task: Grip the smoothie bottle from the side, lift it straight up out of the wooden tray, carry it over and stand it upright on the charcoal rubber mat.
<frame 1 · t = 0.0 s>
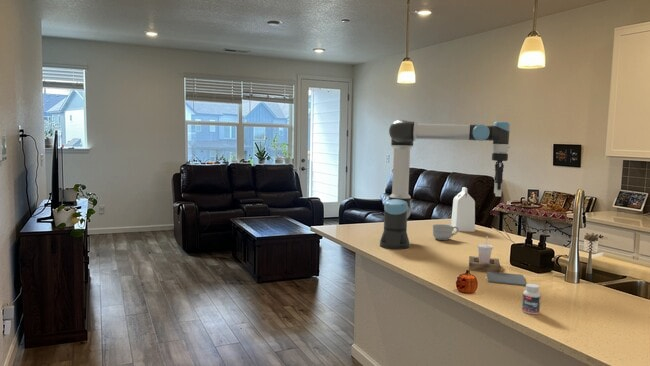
hand: (497, 194, 241), 28 cm above the worktop, tool pointing down, fingers open, 13 cm apart
milk: (462, 229, 294), on the worktop
smoothie: (483, 268, 208), resting in wooden tray
mat: (505, 279, 191), on the worktop
pill bottle: (530, 312, 155), on the worktop
wooden tray: (483, 267, 208), on the worktop
teacup: (444, 239, 264), on the worktop
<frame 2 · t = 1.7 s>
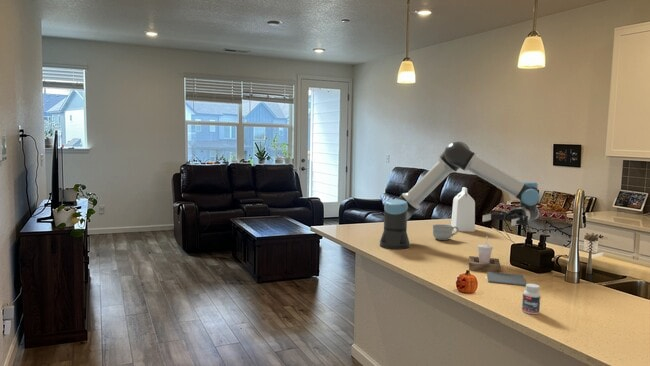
hand: (497, 220, 212), 20 cm above the worktop, tool horizontal, fingers open, 13 cm apart
nothing on the worktop moved.
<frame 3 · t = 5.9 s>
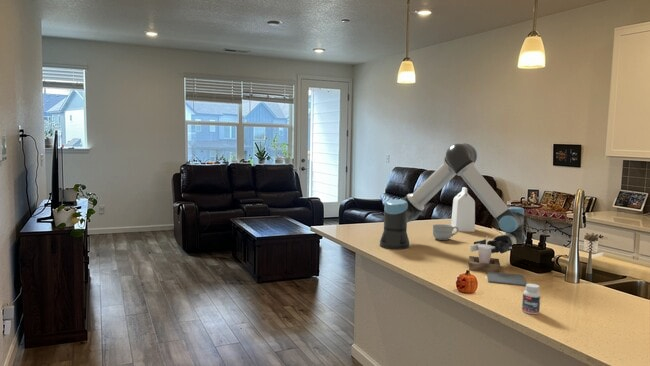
hand: (479, 250, 203), 9 cm above the worktop, tool horizontal, fingers closed on smoothie, 6 cm apart
smoothie: (483, 267, 208), resting in wooden tray, touching gripper
everything else where it was.
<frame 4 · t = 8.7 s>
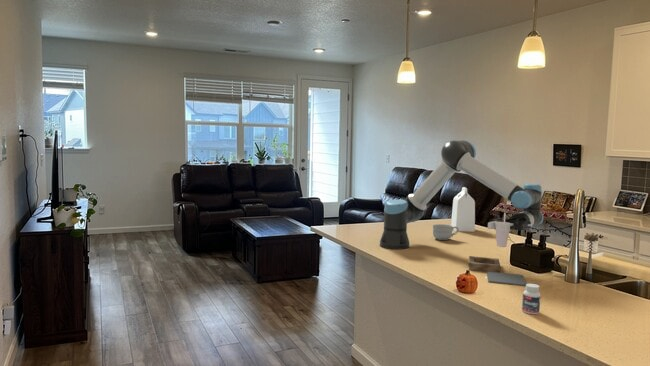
hand: (496, 227, 192), 21 cm above the worktop, tool horizontal, fingers closed on smoothie, 6 cm apart
smoothie: (501, 246, 196), point 12 cm above the worktop, touching gripper
everything else where it was.
when the fingers open (11 cm above the worktop, at t = 11.4 s): smoothie drops 1 cm, resting on mat.
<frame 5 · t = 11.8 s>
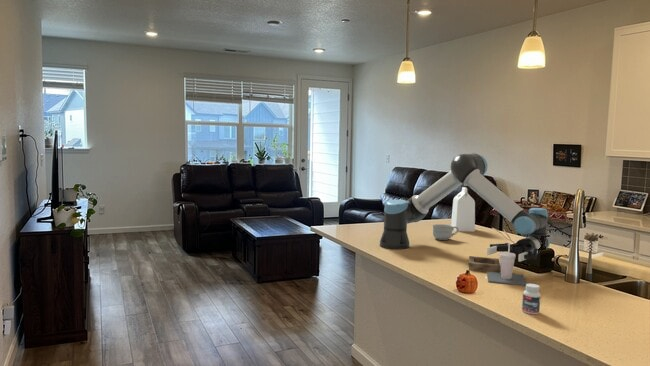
hand: (503, 254, 188), 11 cm above the worktop, tool horizontal, fingers open, 12 cm apart
smoothie: (506, 278, 191), resting on mat
everything else where it was.
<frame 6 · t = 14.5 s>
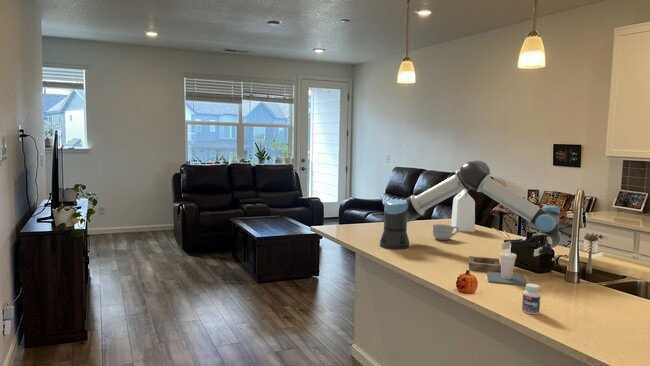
hand: (518, 249, 197), 11 cm above the worktop, tool horizontal, fingers open, 13 cm apart
nothing on the worktop moved.
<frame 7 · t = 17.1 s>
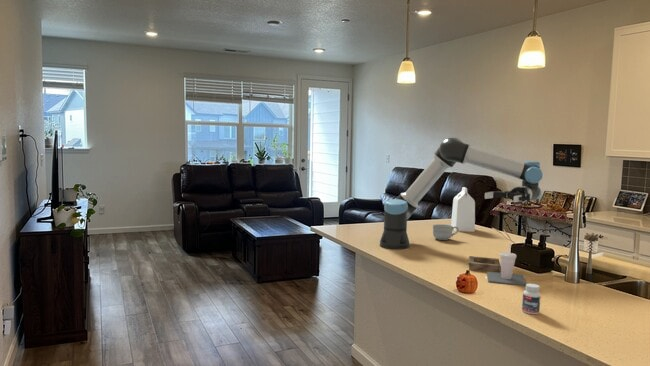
hand: (499, 197, 213), 30 cm above the worktop, tool horizontal, fingers open, 13 cm apart
nothing on the worktop moved.
at the end: smoothie inside the target area on the mat (0.1 cm from its centre), point 0.4 cm above the mat's base; smoothie tilted 0°; the gripper is holding nothing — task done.
